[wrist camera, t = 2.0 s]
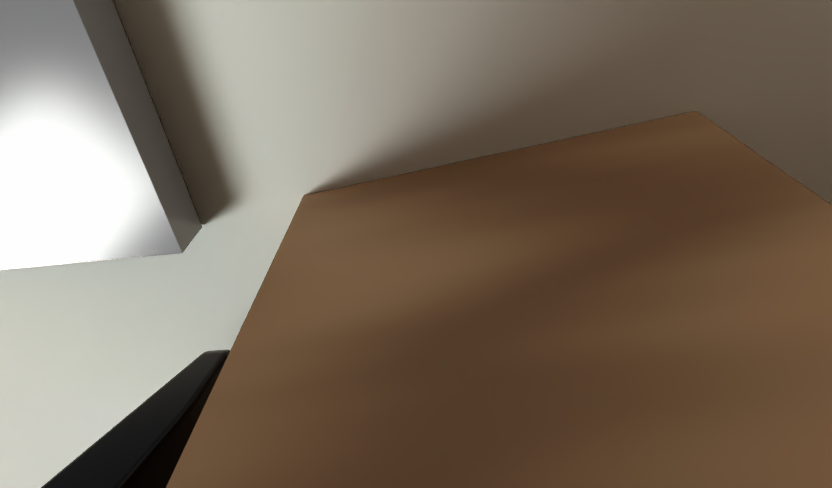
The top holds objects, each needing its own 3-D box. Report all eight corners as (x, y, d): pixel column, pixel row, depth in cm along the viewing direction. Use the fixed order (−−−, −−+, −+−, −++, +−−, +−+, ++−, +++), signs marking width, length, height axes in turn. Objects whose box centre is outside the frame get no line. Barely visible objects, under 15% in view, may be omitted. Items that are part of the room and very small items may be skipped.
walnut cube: (693, 109, 7) (1271, 511, 2) (682, 391, 10) (921, 833, 5) (304, 193, 8) (102, 621, 3) (398, 431, 11) (373, 843, 6)
